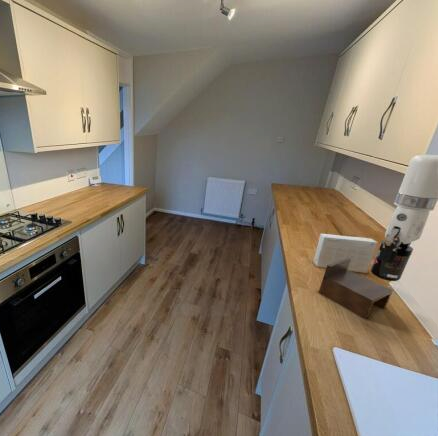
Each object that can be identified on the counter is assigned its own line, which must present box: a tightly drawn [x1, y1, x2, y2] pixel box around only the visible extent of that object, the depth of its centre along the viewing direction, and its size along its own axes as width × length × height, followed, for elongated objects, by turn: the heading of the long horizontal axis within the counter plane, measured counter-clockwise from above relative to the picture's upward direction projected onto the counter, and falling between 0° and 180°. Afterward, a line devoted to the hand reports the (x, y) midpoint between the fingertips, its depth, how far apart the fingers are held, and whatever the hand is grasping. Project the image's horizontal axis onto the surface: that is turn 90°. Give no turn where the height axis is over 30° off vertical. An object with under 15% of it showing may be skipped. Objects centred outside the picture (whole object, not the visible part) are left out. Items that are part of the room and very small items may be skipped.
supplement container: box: [370, 240, 414, 282], centre depth 71 cm, size 7×7×10 cm
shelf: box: [318, 258, 394, 320], centre depth 91 cm, size 16×14×13 cm
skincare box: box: [312, 233, 379, 274], centre depth 112 cm, size 21×6×16 cm, turn 74°
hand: (391, 258), depth 71 cm, fingers closed on supplement container, 6 cm apart
